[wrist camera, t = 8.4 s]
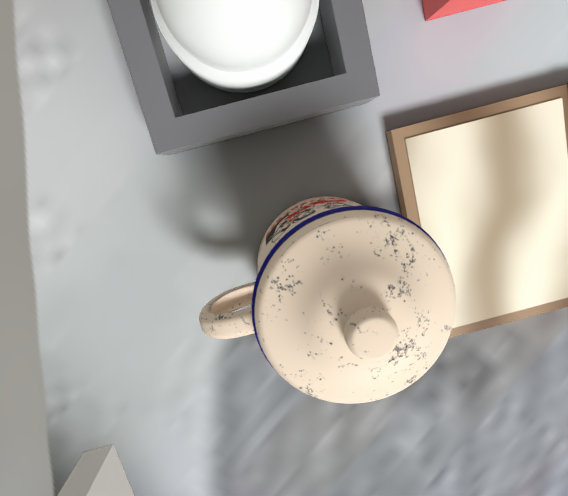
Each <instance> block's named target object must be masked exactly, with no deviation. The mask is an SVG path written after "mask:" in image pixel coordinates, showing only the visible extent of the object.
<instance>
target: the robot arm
mask: <svg viewBox="0 0 568 496" xmlns="http://www.w3.org/2000/svg"><path fill="white" fill-rule="evenodd" d="M57 496H134V494H133V491H132V489H131V486H130V484H129V481H128V479H127V477H126V474H125V472H124V469H123V467H122V464H121V462H120V459H119V457H118V455H117V452H116V450H115V447H114V445H113V444H112V445H108V446H104V447H100V448H96V449H93V450H89V451H85V452H83V454H82V456H81V457H80V459H79V461H78V462H77V464H76V466H75V467H74V469H73V471H72V472H71V474H70V476H69V477H68V479H67V480H66V482H65V484H64V485H63V487H62V489H61V490H60V492H59V494H58V495H57Z"/></svg>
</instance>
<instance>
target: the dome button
mask: <svg viewBox="0 0 568 496" xmlns="http://www.w3.org/2000/svg"><path fill="white" fill-rule="evenodd" d="M151 5H152V10H153V14H154V16H155V19H156V22H157V25H158V27H159V29H160V31H161V33H162V35H163V37H164V38H165V40H166V41H167V43H168V44H169V46H170V47H171V48H172V50H173V51H174V52H175V54H176V55H177V56H178V58H179V59H180V60H181V62H182V63H183V64H184V65H185V66H186V67H187V69H188V70H189V71H190V72H192V73H193V74H194V75H195V76H196V77H197V78H199V79H200V80H202V81H203V82H205V83H207V84H209V85H210V86H212V87H215V88H218V89H220V90H224V91H228V92H237V93H245V92H253V91H258V90H261V89H264V88H267V87H269V86H271V85H273V84H275V83H276V82H278V81H279V80H281V79H282V78H283V77H285V76H286V75H287V74H288V73H289V72H290V71H291V70H292V69H293V67H294V66H295V65H296V64H297V62H298V60H299V59H300V57H301V56H302V54H303V51H304V49H305V47H306V45H307V42H308V40H309V37H310V35H311V33H312V30H313V27H314V24H315V21H316V18H317V13H318V8H319V0H151Z"/></svg>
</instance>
